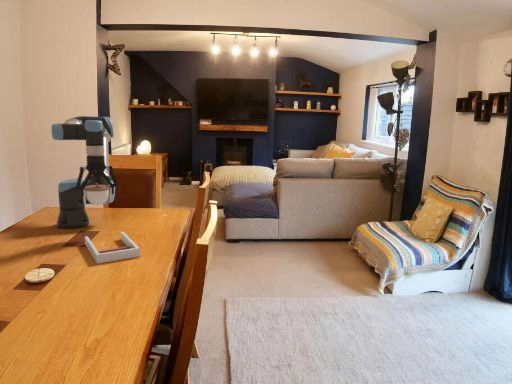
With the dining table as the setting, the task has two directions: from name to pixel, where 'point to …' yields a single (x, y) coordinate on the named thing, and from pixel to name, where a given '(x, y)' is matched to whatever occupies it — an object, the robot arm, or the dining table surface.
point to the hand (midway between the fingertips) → (97, 202)
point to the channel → (115, 254)
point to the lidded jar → (97, 193)
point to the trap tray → (114, 249)
